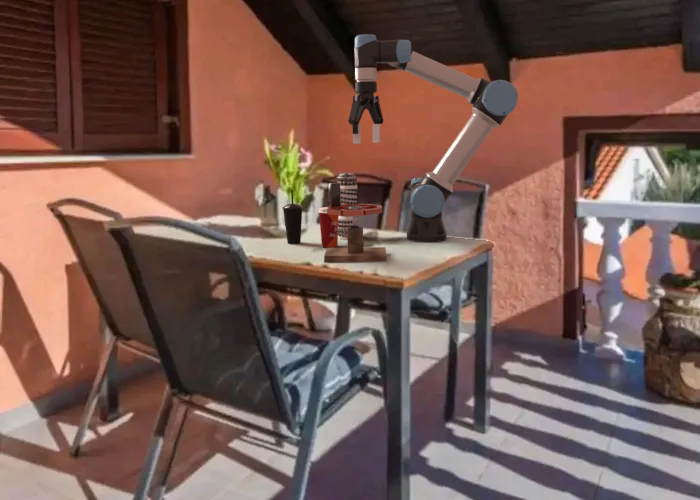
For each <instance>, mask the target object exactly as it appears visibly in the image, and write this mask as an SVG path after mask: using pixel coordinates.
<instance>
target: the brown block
mask: <svg viewBox="0 0 700 500" xmlns="http://www.w3.org/2000/svg"><path fill="white" fill-rule="evenodd" d="M347 235H348V240H347V247H334V248H325V253H324V257H323V262H324V263H351V262H352V263H355V262H356V263H363V262H364V263H365V262H367V263H368V262H370V263H371V262H387V249H386V247H385V246H379V247H376V246H375V247H364V227H363V226H360V225H359V226H358V228H353V227H348V229H347Z"/></svg>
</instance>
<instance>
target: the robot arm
mask: <svg viewBox="0 0 700 500" xmlns="http://www.w3.org/2000/svg"><path fill="white" fill-rule="evenodd" d="M353 50H354V77H355V78H354V80H355V81H356V82H355V83H354V84H355V85H354V87H355V88H354V89H355V90H354V93H356V94H354V95H352V104H351V109H350V113H349V116H348V123H349V125H352V144H353V145H360V144H361V142H362V139H361V138H362V137H361V131H362V130H361V124H360V122H361V121H362V117H363V115H364V112H365V110H367V111H368V113H369V115H370V117H371V120H372V129H371V131H372V143H381V125H383V124H384V122H385V121H384V117H383V112H382V109H381V105H380V104H381V103H380V98H379V95H375V94H376V93H377V91H378V90H377V89H378V88H377V87H378V83H377V82H376V81H377V79H378V74H377V73H378V72H377V64H388V65H389V66H390V67H394V68H397V69H399V70H400V71H401V70H402V71H404V72H407V73H408V74H411V75H413V76H415V77H418V78H420V79H422V80H425V81H427V82H428V83H431V84H433V85H435V86H437V87H440V88H442V89H445V90H447V91H449V92H451V93H454V94H456V95H458V96H460V97H462V98H465V99H467V100H466V101H467V103H469V104H471V105H472V107H471V111H472V114H471V116H470V117H469V118H468V120H467V122H466V123H465V124H464V125H463V127H462V129H461V130H460V132H459V133H458V134H457V136H456V137H455V139H454V140H453V141H452V142H451V144H450V146H449V147H448V148H447V150H446V152H445V153H444V154H443V156H442V157H441V158H440V160H439V161H438V163H437V164H436V166H435V167H434V168H433V170H432V171H428V172H426V173H425V174H424V175H423V177H417V178H416V177H414V178H412V179H411V182H410V201H409V202H410V203H409V204H410V221H409V224H408V228H407V231H406V240H407V241H412V242H418V243H431V242H434V243H436V242H441V241H445V240H447V230H446V227H445V223H444V220H443V209H444V206H445V204H446V203H447V201H448V200H449V198H450V197H451V195H452V194H453V192H454V187H453V185H454V183H455V182H456V181H457V179H458V178H459V177H460V175H461V174H462V172H463V171H464V170H465V168H466V167H467V165H468V164H469V163H470V161H471V160H472V158H473V157H474V156H475V154H476V153H477V151H478V150H479V148H480V147H481V146H482V144H483V143H484V141H485V140H486V139H487V137H488V136H489V135H490V133H491V132H492V131H493V129H494V128H499V127H501V125H502V124H503V122H504V121H505V119H506V118H507V117H508V115H509V114H510V113H512V112H513V111H514V110H515V108H516V107H517V104H518V100H519V93H518V90H517V88H516V87H515V86H514V85H513V84H512V83H511V82H509V81H507V80H505V79H496V80H493V81H490V80H486V79H485V78H481V77H478V78H474V77H472V76H470V75H468V74H466V73H463V72H462V71H459V70H457V69H454V68H452V67H450V66H447V65H445V64H444V63H441V62H438V61H436V60H434V59H432V58H430V57H427V56H425V55H422V54H421V53H419V52H416V51H414V50H412V42H411V41H410V40H409V39H393V40H391V39H388V40H380V39H379V40H377V35H375V34H371V33H370V34H369V33H365V34H357V35H356V36H355V37H354V49H353Z"/></svg>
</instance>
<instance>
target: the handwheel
mask: <svg viewBox="0 0 700 500" xmlns="http://www.w3.org/2000/svg"><path fill="white" fill-rule="evenodd" d="M327 189H328V206H327V207H328V208H327V214H332V215H340V216H342V215H343V216H352V220H351V221H352V226H353V228H358V225H359V226H360V223H359V222H360V219H359V216H362V217H363V216H371V215H372V216H373V215H378V214H382V213H383V205H380V204H375V203H359V204H342V205H341V188H340V183H337V182H329V183H328V188H327ZM358 221H359V222H358Z"/></svg>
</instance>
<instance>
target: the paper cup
mask: <svg viewBox="0 0 700 500" xmlns="http://www.w3.org/2000/svg"><path fill="white" fill-rule="evenodd" d="M328 207H329V206H326V207H319V208H318V215H319V217H318V218H319V227H320V228H319V229H320V237H321V246H322V248H325V249H327V248H338V245H339V243H338V242H339V241H338V240H339V239H338V217H339V215H332V214H327V208H328Z"/></svg>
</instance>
